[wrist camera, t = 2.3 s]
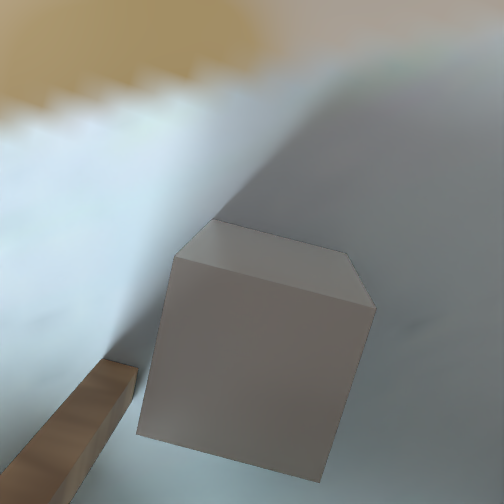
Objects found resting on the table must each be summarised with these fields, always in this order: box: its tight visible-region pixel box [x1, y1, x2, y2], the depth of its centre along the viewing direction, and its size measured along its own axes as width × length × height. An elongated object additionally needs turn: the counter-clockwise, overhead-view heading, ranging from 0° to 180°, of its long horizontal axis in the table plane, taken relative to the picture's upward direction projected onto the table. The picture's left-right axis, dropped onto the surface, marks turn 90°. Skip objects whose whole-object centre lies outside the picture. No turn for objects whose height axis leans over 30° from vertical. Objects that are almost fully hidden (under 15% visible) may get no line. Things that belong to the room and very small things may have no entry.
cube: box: [136, 219, 377, 483], centre depth 15 cm, size 5×5×6 cm
